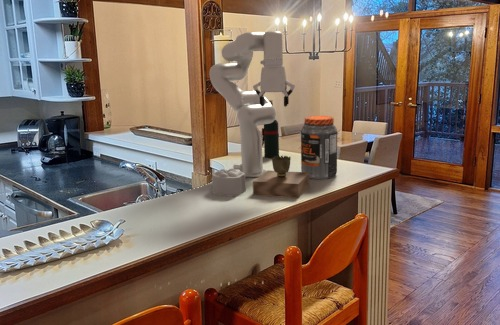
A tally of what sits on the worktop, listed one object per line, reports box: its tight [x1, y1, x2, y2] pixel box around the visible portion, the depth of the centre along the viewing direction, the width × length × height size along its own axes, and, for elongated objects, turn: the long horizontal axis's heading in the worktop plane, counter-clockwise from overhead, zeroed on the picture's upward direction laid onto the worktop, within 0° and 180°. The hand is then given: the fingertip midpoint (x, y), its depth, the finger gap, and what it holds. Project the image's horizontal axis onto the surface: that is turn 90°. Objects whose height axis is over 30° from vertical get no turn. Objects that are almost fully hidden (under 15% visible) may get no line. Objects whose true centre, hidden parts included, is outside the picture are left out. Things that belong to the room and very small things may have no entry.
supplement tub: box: [300, 115, 338, 180], centre depth 201 cm, size 16×16×26 cm
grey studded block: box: [211, 168, 247, 197], centre depth 182 cm, size 10×13×9 cm
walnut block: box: [252, 170, 310, 199], centre depth 182 cm, size 18×18×6 cm
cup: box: [271, 154, 292, 178], centre depth 181 cm, size 8×7×8 cm
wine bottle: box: [261, 99, 280, 159], centre depth 243 cm, size 8×10×30 cm
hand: (274, 106), depth 187 cm, fingers open, 9 cm apart
